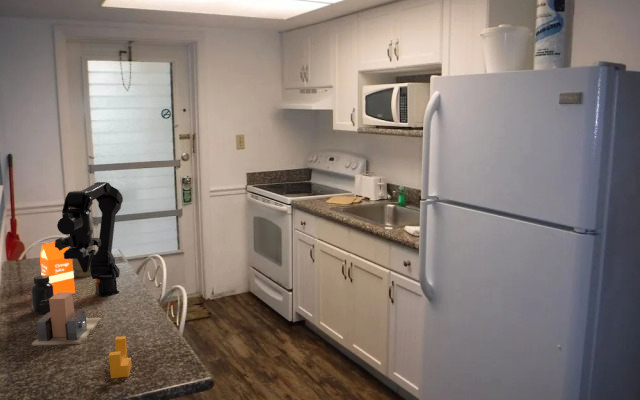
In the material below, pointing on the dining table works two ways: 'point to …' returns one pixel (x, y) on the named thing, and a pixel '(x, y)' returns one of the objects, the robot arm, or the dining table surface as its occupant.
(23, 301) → the dining table surface
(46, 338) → the band block
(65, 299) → the peg post
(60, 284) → the orange juice
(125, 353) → the orange stepped block
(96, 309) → the dining table surface
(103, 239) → the robot arm
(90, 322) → the base board
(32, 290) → the supplement bottle
